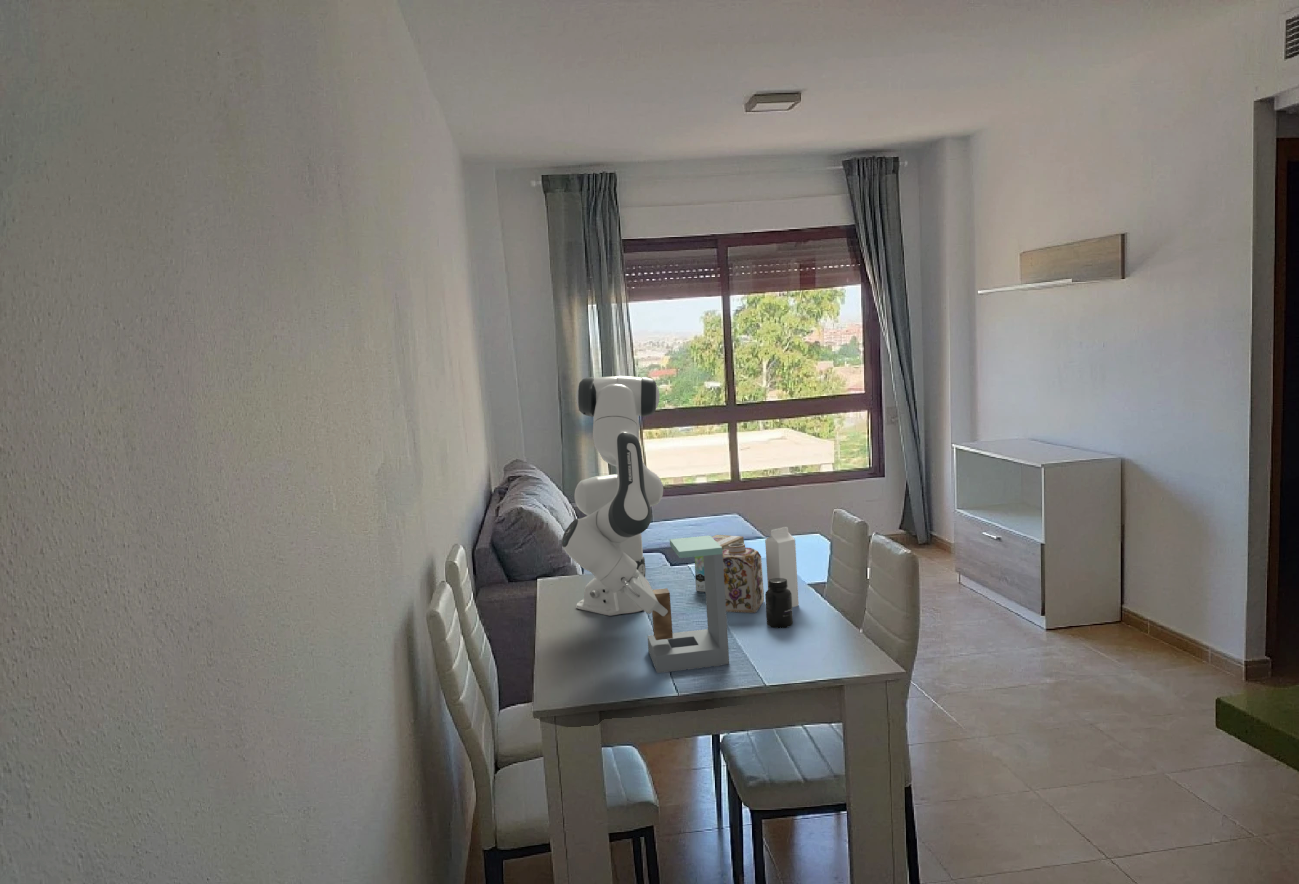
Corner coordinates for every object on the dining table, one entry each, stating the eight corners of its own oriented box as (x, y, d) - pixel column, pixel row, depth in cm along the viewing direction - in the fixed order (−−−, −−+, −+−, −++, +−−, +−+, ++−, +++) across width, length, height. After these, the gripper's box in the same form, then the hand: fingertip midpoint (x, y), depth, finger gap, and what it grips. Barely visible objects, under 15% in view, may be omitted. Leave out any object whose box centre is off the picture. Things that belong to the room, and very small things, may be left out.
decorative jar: (756, 613, 240) (752, 549, 238) (715, 612, 244) (711, 549, 242) (765, 601, 251) (761, 539, 250) (725, 600, 255) (721, 539, 253)
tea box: (724, 594, 261) (721, 545, 260) (695, 591, 266) (692, 543, 265) (746, 581, 274) (744, 535, 272) (718, 579, 279) (715, 533, 277)
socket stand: (657, 672, 201) (648, 555, 198) (648, 651, 216) (640, 541, 213) (729, 664, 203) (722, 547, 200) (716, 643, 218) (709, 535, 215)
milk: (798, 606, 245) (795, 528, 242) (781, 610, 242) (777, 531, 240) (785, 601, 250) (781, 525, 248) (768, 605, 247) (764, 528, 245)
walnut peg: (655, 640, 206) (652, 594, 205) (653, 634, 210) (650, 589, 209) (672, 638, 207) (669, 592, 205) (670, 633, 210) (667, 588, 209)
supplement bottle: (792, 629, 225) (790, 583, 224) (765, 629, 227) (763, 583, 225) (793, 620, 232) (791, 576, 231) (767, 620, 233) (765, 576, 232)
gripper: (633, 574, 195) (679, 612, 197) (624, 553, 215) (666, 588, 218) (615, 595, 195) (661, 633, 197) (607, 573, 215) (649, 608, 218)
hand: (664, 609), depth 208 cm, fingers closed on walnut peg, 4 cm apart
